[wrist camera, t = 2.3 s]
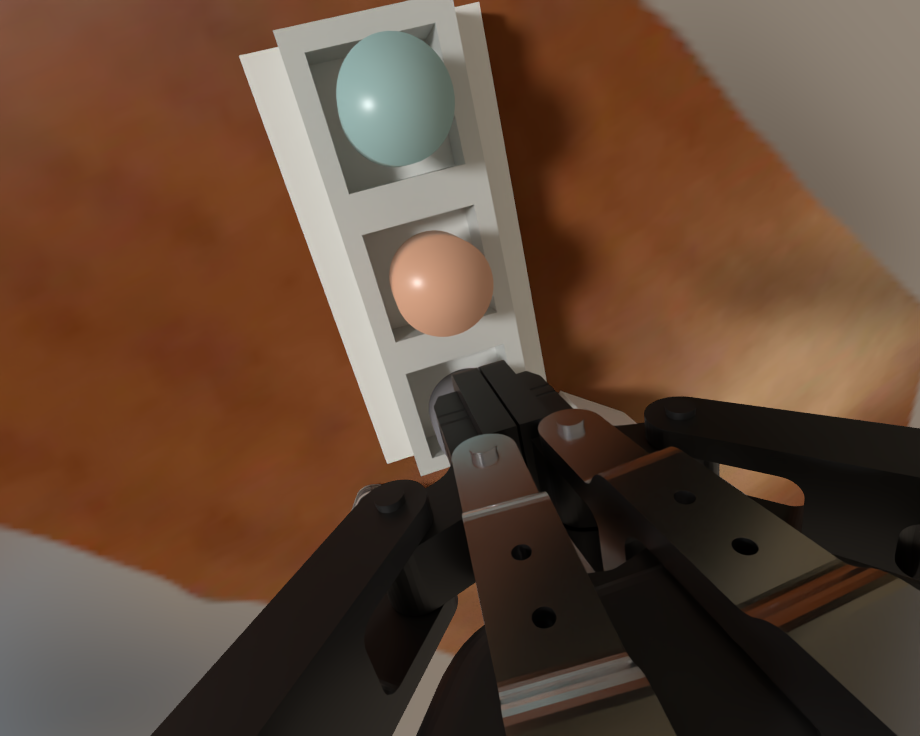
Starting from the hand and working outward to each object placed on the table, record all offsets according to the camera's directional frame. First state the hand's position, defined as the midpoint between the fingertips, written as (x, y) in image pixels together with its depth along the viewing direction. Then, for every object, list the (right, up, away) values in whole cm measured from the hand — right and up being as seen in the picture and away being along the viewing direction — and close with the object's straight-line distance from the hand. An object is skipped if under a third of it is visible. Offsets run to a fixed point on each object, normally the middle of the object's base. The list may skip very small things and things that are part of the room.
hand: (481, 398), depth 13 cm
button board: (-3, +7, +16) cm, 18 cm away
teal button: (-4, +13, +9) cm, 16 cm away
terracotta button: (-2, +6, +12) cm, 13 cm away
